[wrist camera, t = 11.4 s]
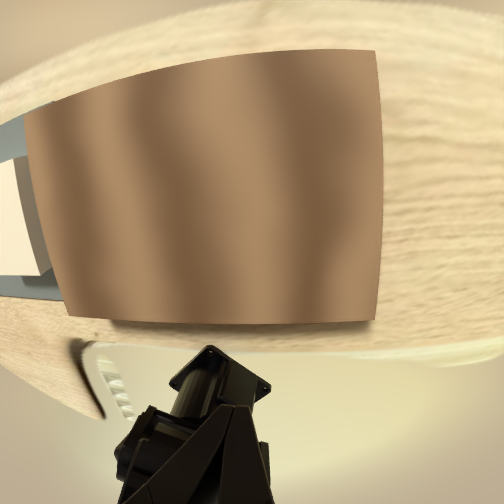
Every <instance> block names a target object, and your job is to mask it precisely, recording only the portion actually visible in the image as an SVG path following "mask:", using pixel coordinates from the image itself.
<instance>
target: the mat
mask: <svg viewBox="0 0 504 504" xmlns="http://www.w3.org/2000/svg"><path fill="white" fill-rule="evenodd" d="M53 102H55V101H52V102H50V103H47V104H45V105H43V106H46V105H48V104H51V103H53ZM43 106H40V107H38V108H36V109H39V108H41V107H43ZM36 109H33V110H31V111H29V112H32V111H34V110H36ZM29 112H27V113H29ZM27 113H25V114H27ZM25 114H22V115H20V116H18V117H16V118H14V119H12V120H10V121H8V122H6V123H4V124H2V125H0V163H3V162H5V161H8V160H10V159H13V158H17V157H21V156H25V155H28V154H27V147H26V138H25V129H24V118H23V115H25ZM0 295H2V296H13V297H24V298H36V299H50V300H63V298H62V295H61V292H60V289H59V286H58V283H57V280H56V277H55V274H54V271H53V267H51V268H50V269H49V270H47V271H46V272H45V273H43V274H42V275H40V276H29V275H0Z"/></svg>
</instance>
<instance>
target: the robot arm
mask: <svg viewBox="0 0 504 504" xmlns="http://www.w3.org/2000/svg"><path fill="white" fill-rule="evenodd" d="M209 351H212V353H211V352H209ZM169 385H170V386H171V387H172V388H173V389H175V390H176V391H178V392H179V393H178V396H177V398H176V400H175V403H174V406H173V408H172V411H171V412H170V414H168V413H165V412H163V411H160V410H157V408H156V407H153V406H151V405H149V407H148V408H147V410H146V411H145V412H143V413H142V414H141V415H139V416H138V418H137V420H136V422H135V424H134V426H133V428H132V430H131V431H130V433H129V434H128V435H127V436H126V437H125V438H124V440H122V442H121V443H120V444H119V445H118V446H117V447H116V449H115V451H114V455H115V458H116V460H117V462H118V463H117V474H116V478H117V479H118V480H120V481H122V482H124V484H123V487H122V490H121V494H120V497H119V500H118V504H275V503H274V501H273V496H272V492H271V489H270V465H269V464H270V463H269V446H268V443H266V442H262V441H261V442H258V439H257V435H256V431H255V427H254V423H253V419H252V412H253V406H254V403H255V402H257V401H258V400H260V399H261V398H263V397H264V396H266V395H267V394H268V393H270V392H271V385H270V384H269V383H268V382H266V381H265V380H263V379H262V378H260V377H259V376H257V375H255V374H254V373H252V372H251V371H249V370H248V369H246V368H245V367H243V366H242V365H240V364H239V363H238V362H236V361H235V360H233V359H232V358H230V357H229V356H227V355H226V354H224V353H223V352H222V351H220V350H219V349H217V348H216V347H214V346H213V345H207V346H206V347H205V348H203V349H202V350H201V351H200V352H199V353H198V354H197V355H196V356H195V357H194V358H193V359H192V360H191V361H190V362H189V363H188V364H186V365H185V366H184V367H183V368H182V369H181V370H180V371H179V372H178V373H177V374H176V375H175V376H174V377H173V378H171V380H170V382H169ZM265 388H266V389H265Z"/></svg>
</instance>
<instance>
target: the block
mask: <svg viewBox="0 0 504 504" xmlns="http://www.w3.org/2000/svg"><path fill="white" fill-rule="evenodd" d="M23 118H24V129H25V138H26V147H27V154H28V161H29V168H30V174H31V180H32V185H33V191H34V196H35V201H36V205H37V210H38V214H39V219H40V223H41V227H42V231H43V235H44V239H45V243H46V247H47V250H48V254H49V257H50V261H51V264H52V267H53V271H54V274H55V277H56V280H57V283H58V286H59V289H60V292H61V295H62V298H63V301H64V304H65V306H66V309H67V312H68V314H69V316H76V317H88V318H100V319H113V320H129V321H146V322H168V323H199V324H295V323H326V322H347V321H365V320H375V313H376V304H377V295H378V285H379V273H380V260H381V244H382V223H383V142H382V121H381V105H380V93H379V82H378V72H377V63H376V55H375V51H372V50H347V49H315V50H289V51H274V52H262V53H252V54H243V55H235V56H227V57H220V58H214V59H208V60H202V61H196V62H191V63H185V64H180V65H176V66H171V67H166V68H162V69H158V70H153V71H149V72H145V73H141V74H137V75H134V76H130V77H126V78H123V79H120V80H116V81H113V82H109V83H106V84H103V85H100V86H97V87H94V88H91V89H88V90H85V91H82V92H79V93H77V94H74V95H71V96H68V97H66V98H63V99H61V100H58V101H55V102H53V103H51V104H48V105H46V106H43V107H41V108H39V109H36V110H34V111H32V112H29V113H27V114H25V115H23Z"/></svg>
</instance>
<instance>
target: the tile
mask: <svg viewBox="0 0 504 504" xmlns="http://www.w3.org/2000/svg"><path fill="white" fill-rule="evenodd" d="M51 267H52V264H51V261H50V257H49V254H48V250H47V247H46V243H45V239H44V235H43V231H42V227H41V223H40V219H39V214H38V210H37V205H36V201H35V196H34V191H33V185H32V180H31V174H30V168H29V161H28V155H25V156H21V157H17V158H13V159H10V160H8V161H5V162H3V163H0V275H29V276H40V275H42V274H43V273H45V272H46V271H47V270H49V269H50V268H51Z"/></svg>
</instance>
